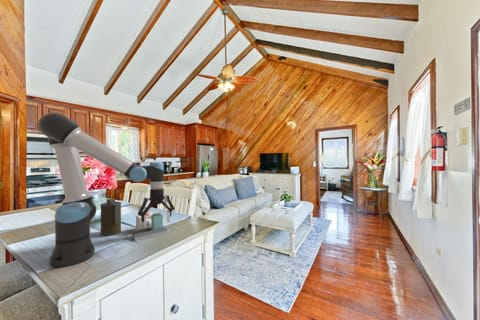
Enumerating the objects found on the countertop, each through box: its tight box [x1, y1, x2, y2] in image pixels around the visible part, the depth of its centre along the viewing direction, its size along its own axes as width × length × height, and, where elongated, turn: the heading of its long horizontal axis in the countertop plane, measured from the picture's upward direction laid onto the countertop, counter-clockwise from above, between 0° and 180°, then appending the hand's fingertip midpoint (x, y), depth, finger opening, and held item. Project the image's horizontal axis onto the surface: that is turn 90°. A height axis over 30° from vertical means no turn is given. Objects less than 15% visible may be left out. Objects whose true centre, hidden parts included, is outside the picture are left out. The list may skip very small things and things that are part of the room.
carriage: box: [151, 212, 164, 230], centre depth 116 cm, size 5×5×10 cm
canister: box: [99, 198, 122, 237], centre depth 116 cm, size 11×10×20 cm
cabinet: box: [135, 212, 154, 230], centre depth 122 cm, size 9×9×9 cm
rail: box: [131, 227, 168, 242], centre depth 113 cm, size 17×7×3 cm, turn 130°
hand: (157, 224), depth 116 cm, fingers open, 13 cm apart
